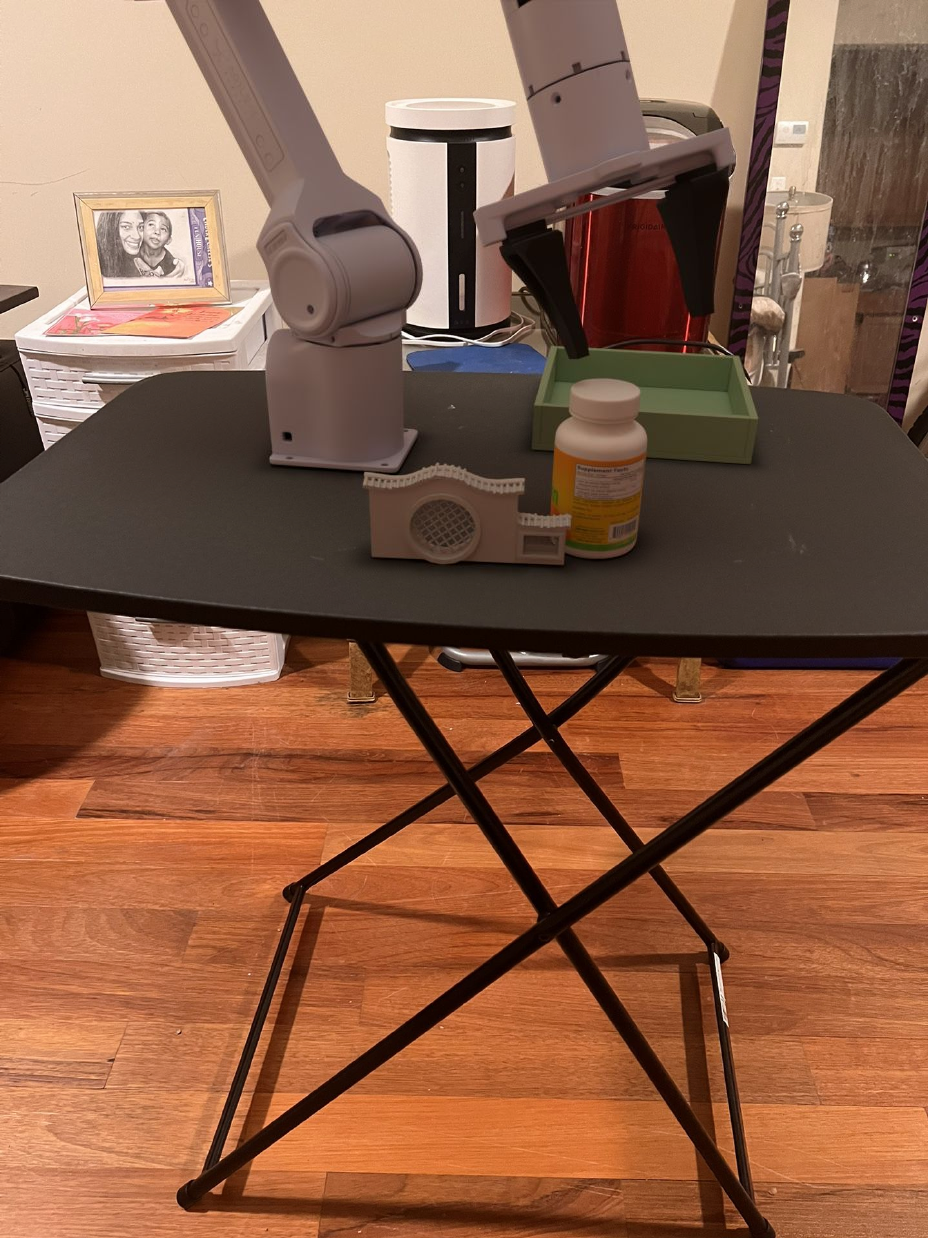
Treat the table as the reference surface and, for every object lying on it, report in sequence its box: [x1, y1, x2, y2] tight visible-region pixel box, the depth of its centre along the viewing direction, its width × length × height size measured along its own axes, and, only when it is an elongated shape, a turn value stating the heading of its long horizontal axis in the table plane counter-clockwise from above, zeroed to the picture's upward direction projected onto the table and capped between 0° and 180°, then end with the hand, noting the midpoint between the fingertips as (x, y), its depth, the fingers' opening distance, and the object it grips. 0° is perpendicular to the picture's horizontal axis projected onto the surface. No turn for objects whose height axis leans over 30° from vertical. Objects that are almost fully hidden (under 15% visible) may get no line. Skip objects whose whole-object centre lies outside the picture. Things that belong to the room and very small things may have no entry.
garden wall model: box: [362, 462, 571, 566], centre depth 57 cm, size 12×2×6 cm, turn 86°
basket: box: [531, 345, 760, 465], centre depth 79 cm, size 16×16×4 cm
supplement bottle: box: [549, 379, 647, 560], centre depth 58 cm, size 5×5×10 cm
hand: (641, 336), depth 56 cm, fingers open, 7 cm apart
